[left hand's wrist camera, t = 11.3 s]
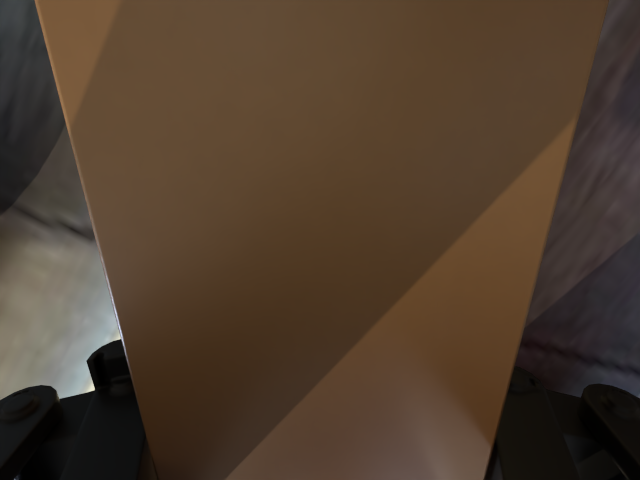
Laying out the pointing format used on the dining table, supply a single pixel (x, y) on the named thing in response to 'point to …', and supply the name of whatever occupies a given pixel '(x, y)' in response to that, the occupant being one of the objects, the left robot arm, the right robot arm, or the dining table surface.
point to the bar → (321, 218)
